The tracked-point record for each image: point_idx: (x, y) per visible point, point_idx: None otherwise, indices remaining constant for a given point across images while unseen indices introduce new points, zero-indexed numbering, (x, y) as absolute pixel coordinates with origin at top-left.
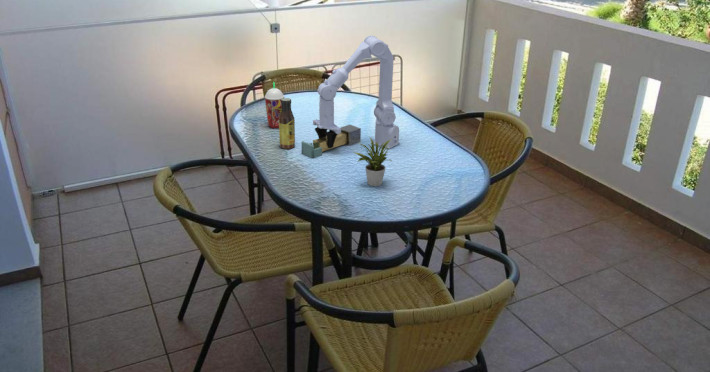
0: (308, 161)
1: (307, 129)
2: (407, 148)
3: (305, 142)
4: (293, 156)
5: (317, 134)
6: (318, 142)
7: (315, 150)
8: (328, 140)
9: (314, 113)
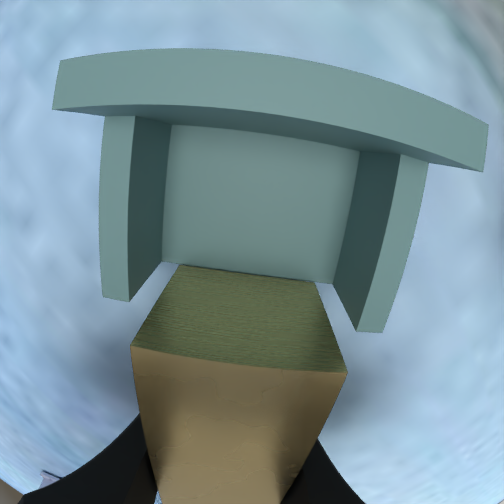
0: (143, 14)
1: (487, 450)
2: (32, 477)
3: (400, 132)
4: (385, 16)
5: (358, 499)
6: (174, 361)
7: (108, 149)
8: (116, 456)
9: (479, 495)
